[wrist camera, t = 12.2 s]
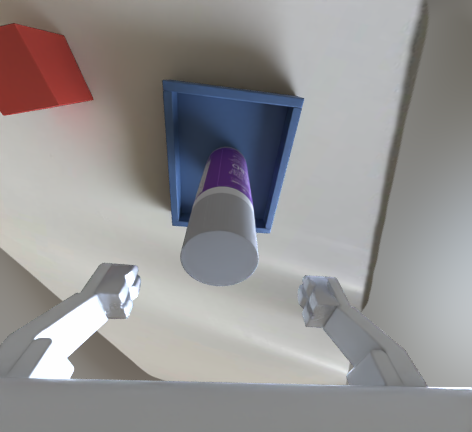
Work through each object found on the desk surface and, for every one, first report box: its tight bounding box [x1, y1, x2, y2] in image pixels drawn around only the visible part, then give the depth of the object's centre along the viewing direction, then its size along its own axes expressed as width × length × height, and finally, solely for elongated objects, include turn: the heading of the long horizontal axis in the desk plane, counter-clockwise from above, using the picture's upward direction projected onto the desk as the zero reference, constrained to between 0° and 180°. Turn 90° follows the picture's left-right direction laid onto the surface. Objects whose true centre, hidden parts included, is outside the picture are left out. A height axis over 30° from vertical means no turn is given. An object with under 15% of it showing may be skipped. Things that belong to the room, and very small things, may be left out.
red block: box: [0, 23, 93, 116], centre depth 18 cm, size 5×5×5 cm
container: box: [180, 147, 259, 286], centre depth 18 cm, size 5×5×15 cm
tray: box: [162, 80, 304, 233], centre depth 24 cm, size 16×13×3 cm
